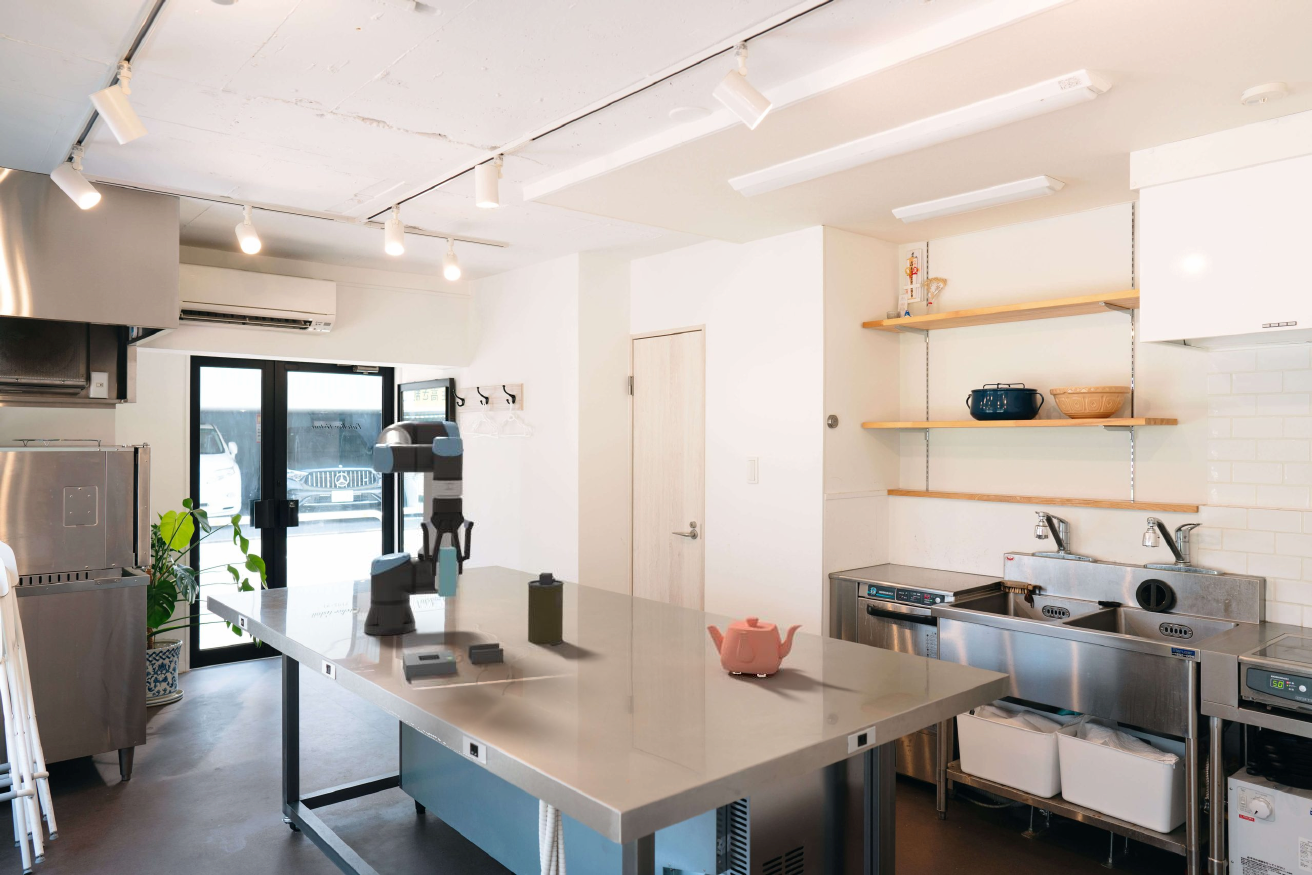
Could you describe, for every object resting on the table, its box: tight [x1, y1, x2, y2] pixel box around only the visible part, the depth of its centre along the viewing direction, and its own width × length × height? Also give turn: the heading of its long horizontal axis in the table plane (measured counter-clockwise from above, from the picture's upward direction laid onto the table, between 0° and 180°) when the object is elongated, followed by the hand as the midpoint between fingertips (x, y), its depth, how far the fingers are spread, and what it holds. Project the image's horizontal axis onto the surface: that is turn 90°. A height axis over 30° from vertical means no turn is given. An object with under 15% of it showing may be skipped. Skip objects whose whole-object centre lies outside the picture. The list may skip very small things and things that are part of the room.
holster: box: [467, 642, 504, 665], centre depth 222 cm, size 7×8×4 cm
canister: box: [527, 572, 565, 646], centre depth 245 cm, size 11×10×20 cm
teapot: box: [706, 616, 803, 675], centre depth 214 cm, size 18×18×14 cm
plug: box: [437, 546, 457, 598], centre depth 215 cm, size 4×4×12 cm
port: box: [402, 649, 457, 681], centre depth 212 cm, size 12×12×4 cm
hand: (446, 587), depth 215 cm, fingers closed on plug, 4 cm apart
